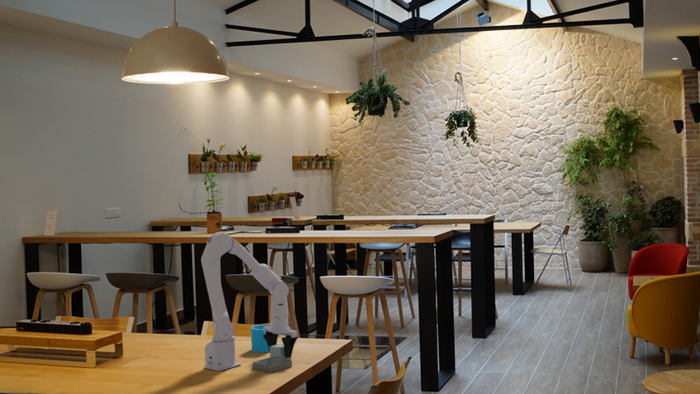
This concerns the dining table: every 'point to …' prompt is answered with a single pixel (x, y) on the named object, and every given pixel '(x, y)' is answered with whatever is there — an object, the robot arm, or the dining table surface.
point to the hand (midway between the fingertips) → (280, 356)
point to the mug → (258, 339)
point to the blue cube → (278, 351)
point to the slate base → (272, 364)
